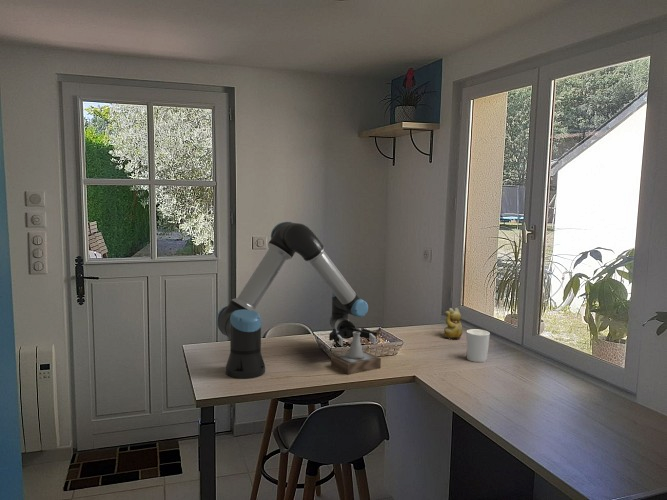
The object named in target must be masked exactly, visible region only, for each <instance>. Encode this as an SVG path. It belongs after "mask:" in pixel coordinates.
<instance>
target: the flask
mask: <svg viewBox="0 0 667 500" xmlns="http://www.w3.org/2000/svg"><path fill="white" fill-rule="evenodd" d="M363 351H364V350H363V347H362V343H361V337H360V332H353V337H352V340H351V344H350V346H349V349H348V352H347V353H346V354H347V356H348V357H349V358H354V359H360V358H364V357H365V355H364V352H365V351H364V352H363Z"/></svg>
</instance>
